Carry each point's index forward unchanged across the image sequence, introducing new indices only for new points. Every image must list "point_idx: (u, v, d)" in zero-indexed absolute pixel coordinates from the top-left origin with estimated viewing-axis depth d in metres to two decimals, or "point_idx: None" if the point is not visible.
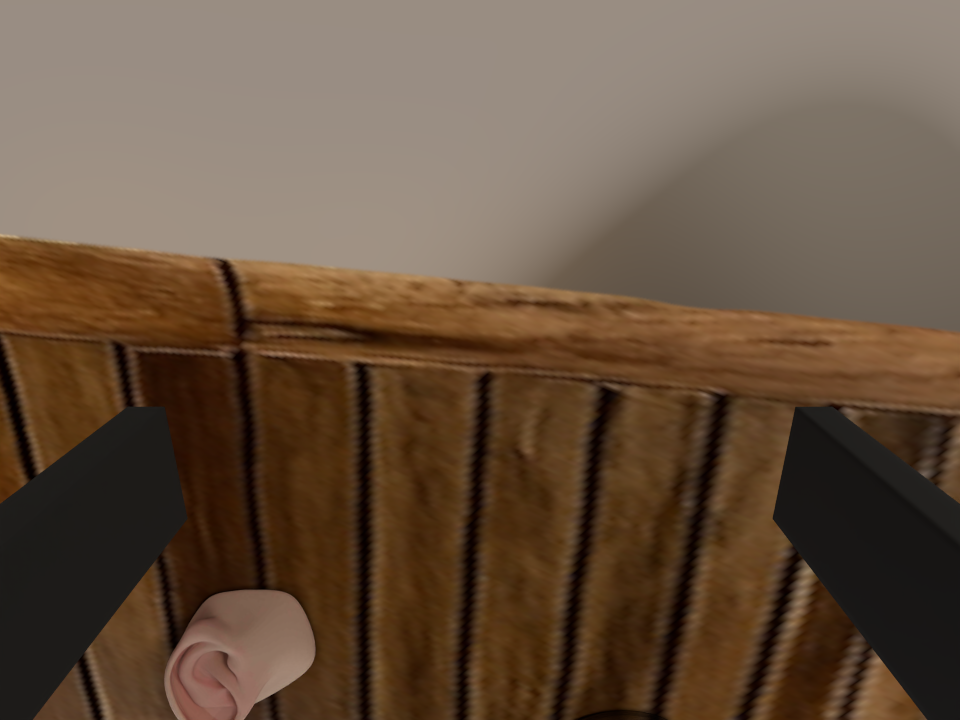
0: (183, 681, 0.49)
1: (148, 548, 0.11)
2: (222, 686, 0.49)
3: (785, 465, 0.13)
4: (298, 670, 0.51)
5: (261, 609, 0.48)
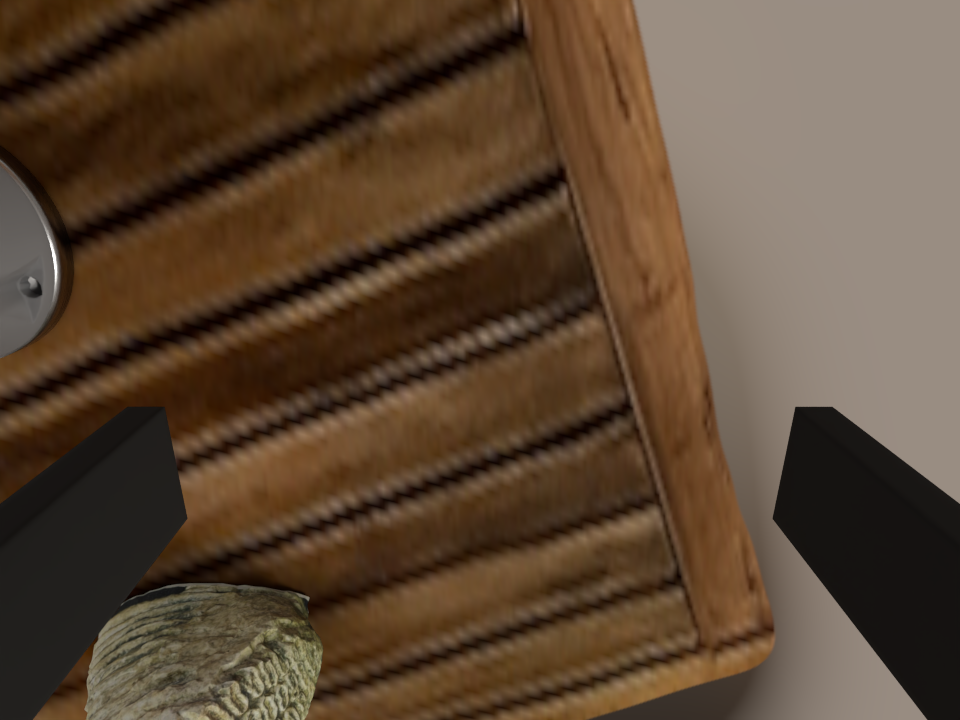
0: None
1: (148, 548, 0.11)
2: None
3: (785, 465, 0.13)
4: None
5: None
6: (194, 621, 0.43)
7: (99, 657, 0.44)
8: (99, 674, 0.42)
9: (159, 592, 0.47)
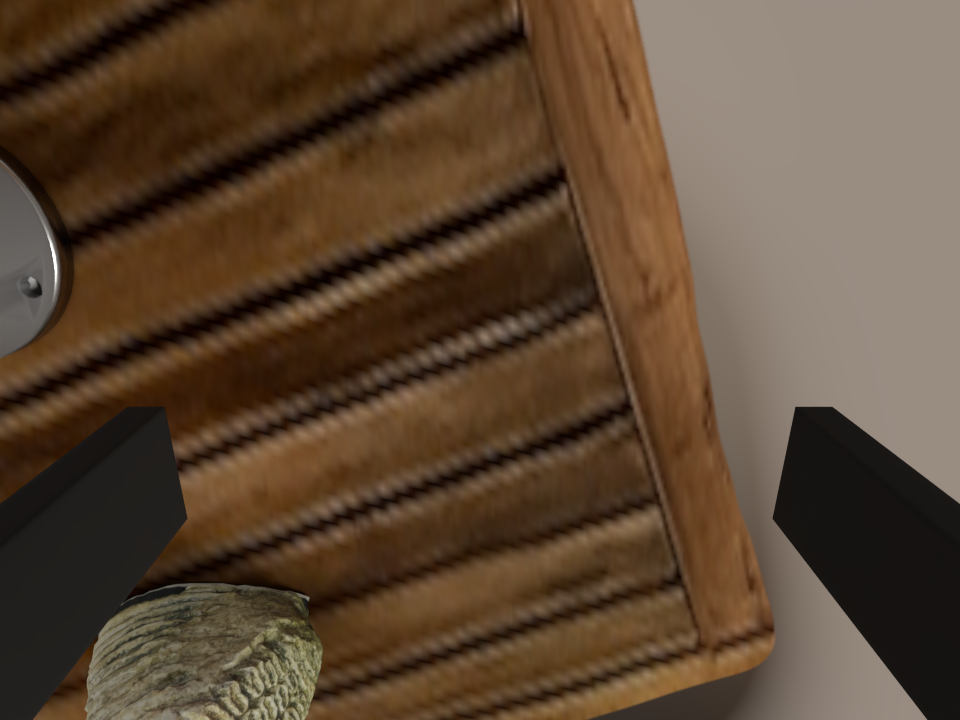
0: None
1: (148, 548, 0.11)
2: None
3: (785, 465, 0.13)
4: None
5: None
6: (194, 621, 0.43)
7: (99, 657, 0.44)
8: (99, 674, 0.42)
9: (159, 592, 0.47)
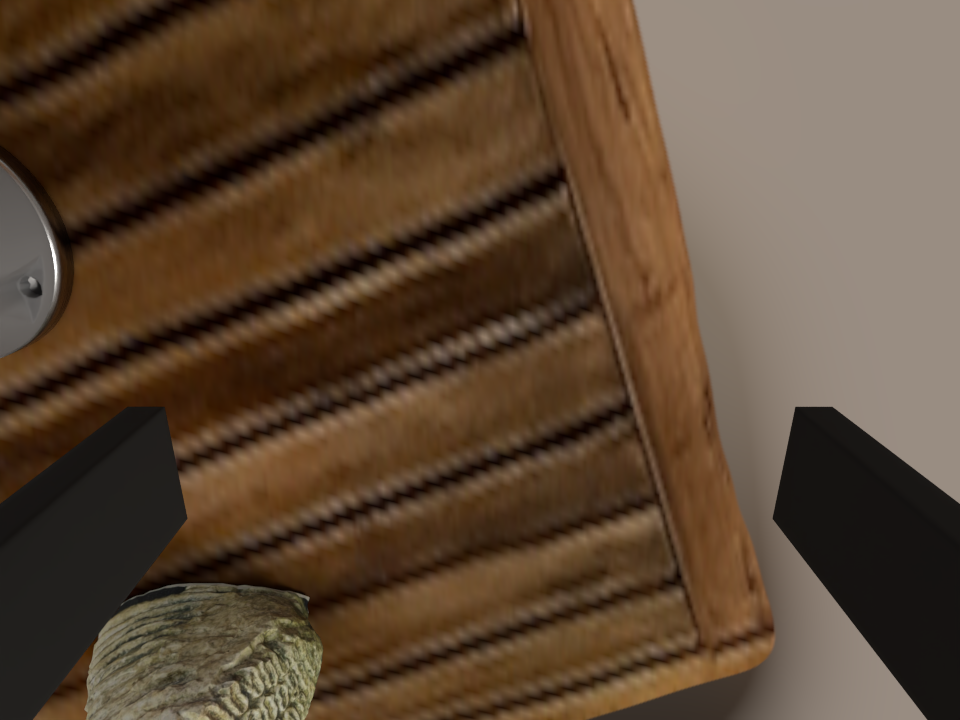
0: None
1: (148, 548, 0.11)
2: None
3: (785, 465, 0.13)
4: None
5: None
6: (194, 621, 0.43)
7: (99, 657, 0.44)
8: (99, 674, 0.42)
9: (159, 592, 0.47)
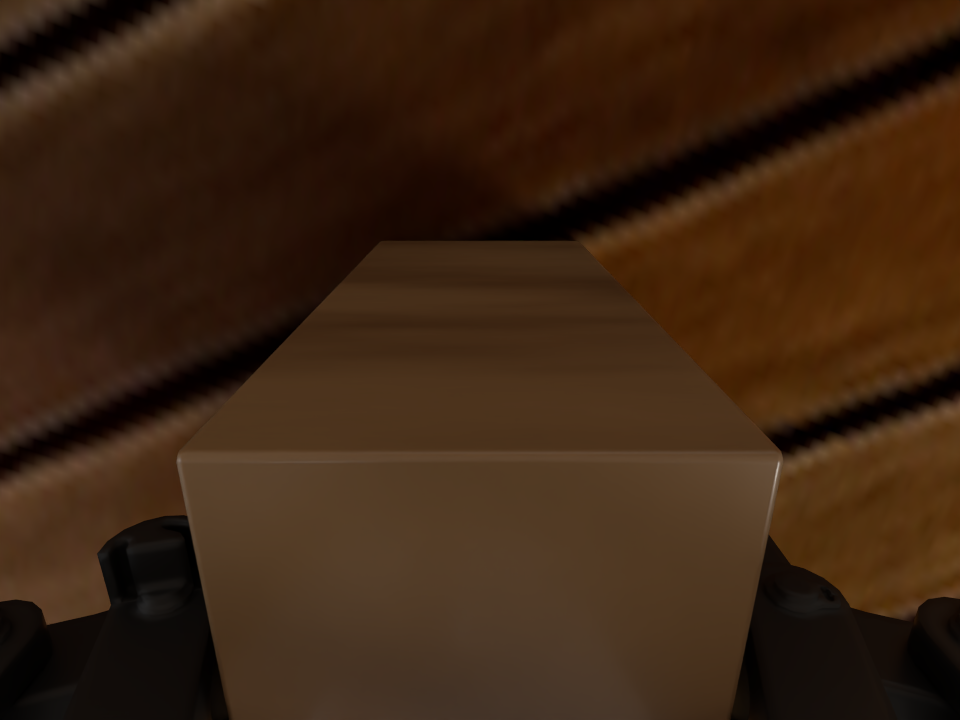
0: None
1: None
2: None
3: None
4: None
5: None
6: None
7: None
8: None
9: None
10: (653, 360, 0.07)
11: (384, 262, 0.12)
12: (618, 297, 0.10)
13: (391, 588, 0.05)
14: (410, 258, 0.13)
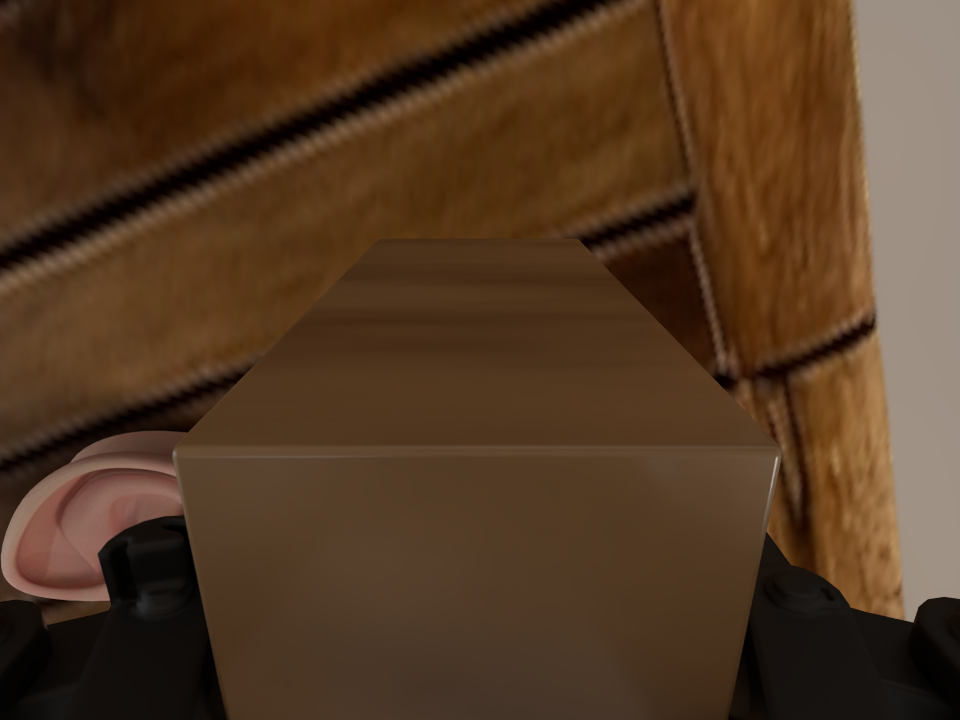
0: (98, 490, 0.26)
1: None
2: None
3: None
4: None
5: None
6: None
7: None
8: None
9: None
10: (651, 356, 0.07)
11: (383, 260, 0.12)
12: (617, 295, 0.10)
13: (387, 583, 0.05)
14: (409, 256, 0.13)
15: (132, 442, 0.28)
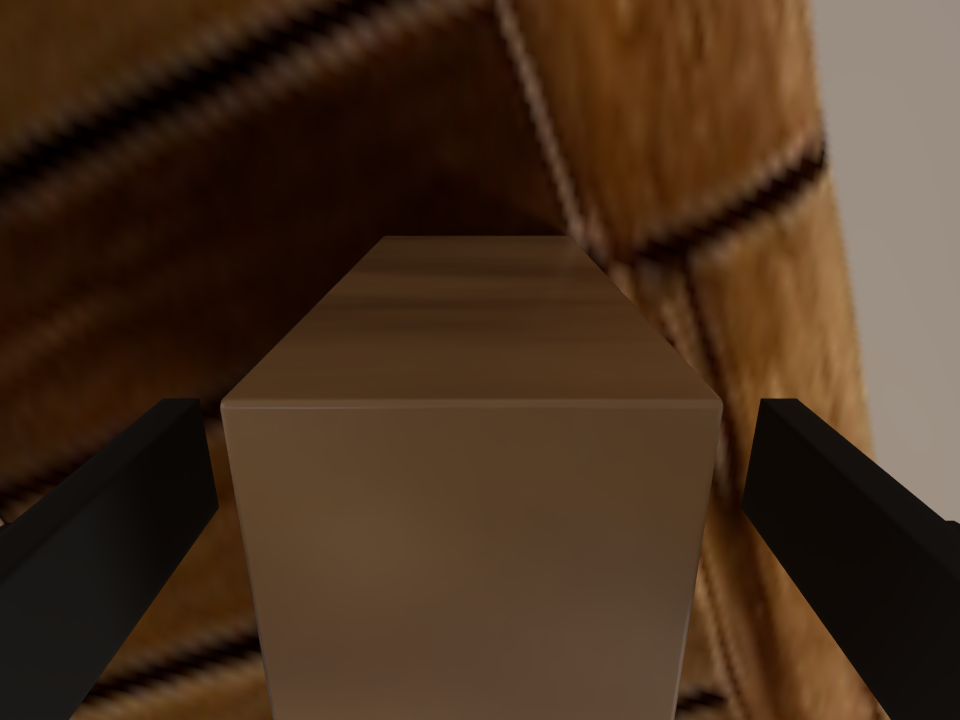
0: None
1: (185, 535, 0.12)
2: None
3: (753, 456, 0.13)
4: None
5: None
6: None
7: None
8: None
9: None
10: (625, 333, 0.08)
11: (388, 254, 0.14)
12: (600, 284, 0.11)
13: (397, 518, 0.06)
14: (412, 251, 0.14)
15: None
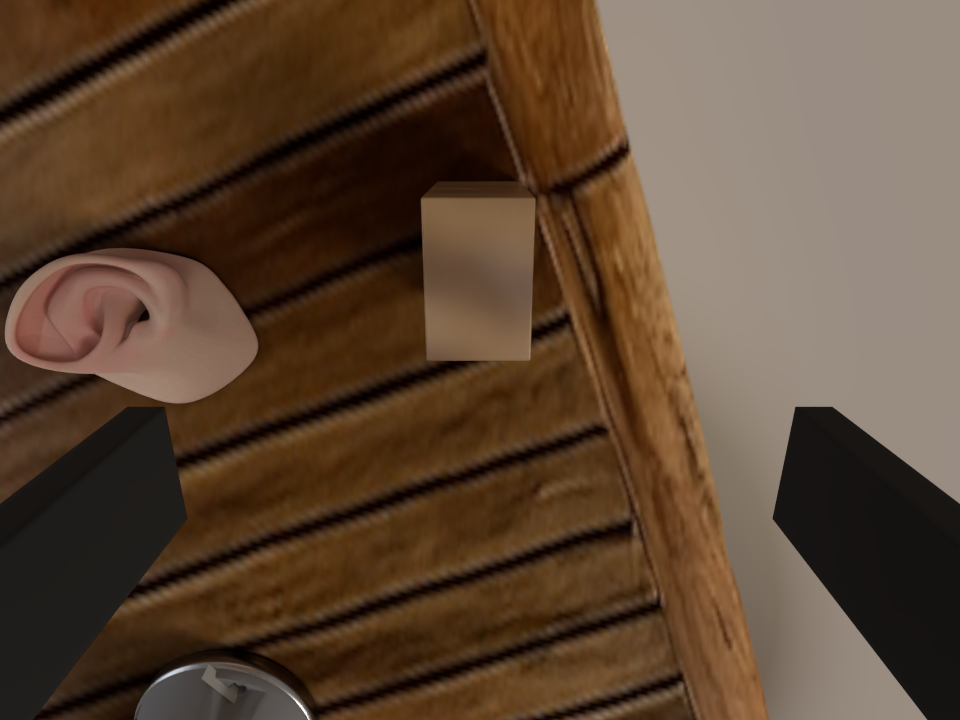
0: (73, 282, 0.36)
1: (148, 548, 0.11)
2: (94, 328, 0.38)
3: (785, 465, 0.13)
4: (162, 395, 0.41)
5: (227, 329, 0.39)
6: None
7: None
8: None
9: None
10: (520, 193, 0.29)
11: (443, 184, 0.34)
12: (521, 188, 0.31)
13: (460, 228, 0.27)
14: (452, 183, 0.35)
15: None
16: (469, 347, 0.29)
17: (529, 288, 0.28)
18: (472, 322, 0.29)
